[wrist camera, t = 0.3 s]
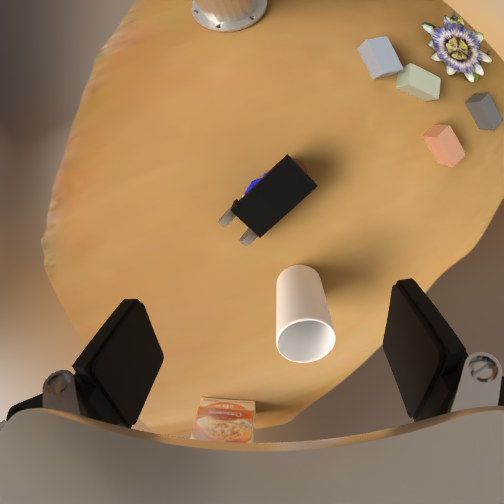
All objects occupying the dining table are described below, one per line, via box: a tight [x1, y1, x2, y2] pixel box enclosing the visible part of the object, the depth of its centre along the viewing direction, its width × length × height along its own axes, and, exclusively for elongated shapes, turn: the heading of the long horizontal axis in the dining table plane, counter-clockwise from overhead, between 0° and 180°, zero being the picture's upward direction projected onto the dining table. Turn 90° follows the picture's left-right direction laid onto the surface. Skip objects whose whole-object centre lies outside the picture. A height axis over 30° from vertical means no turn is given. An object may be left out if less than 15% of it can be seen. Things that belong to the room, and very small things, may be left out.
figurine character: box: [218, 154, 318, 246], centre depth 41 cm, size 7×8×15 cm
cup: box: [276, 265, 336, 363], centre depth 43 cm, size 8×8×16 cm
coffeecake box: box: [190, 397, 256, 443], centre depth 58 cm, size 15×7×20 cm, turn 92°
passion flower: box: [422, 12, 492, 82], centre depth 25 cm, size 13×12×14 cm
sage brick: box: [396, 63, 441, 101], centre depth 32 cm, size 6×4×5 cm, turn 80°
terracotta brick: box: [422, 125, 466, 167], centre depth 35 cm, size 6×4×5 cm, turn 45°
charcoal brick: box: [465, 93, 503, 130], centre depth 31 cm, size 6×4×5 cm, turn 45°
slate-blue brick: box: [357, 36, 403, 79], centre depth 31 cm, size 6×4×5 cm, turn 25°
